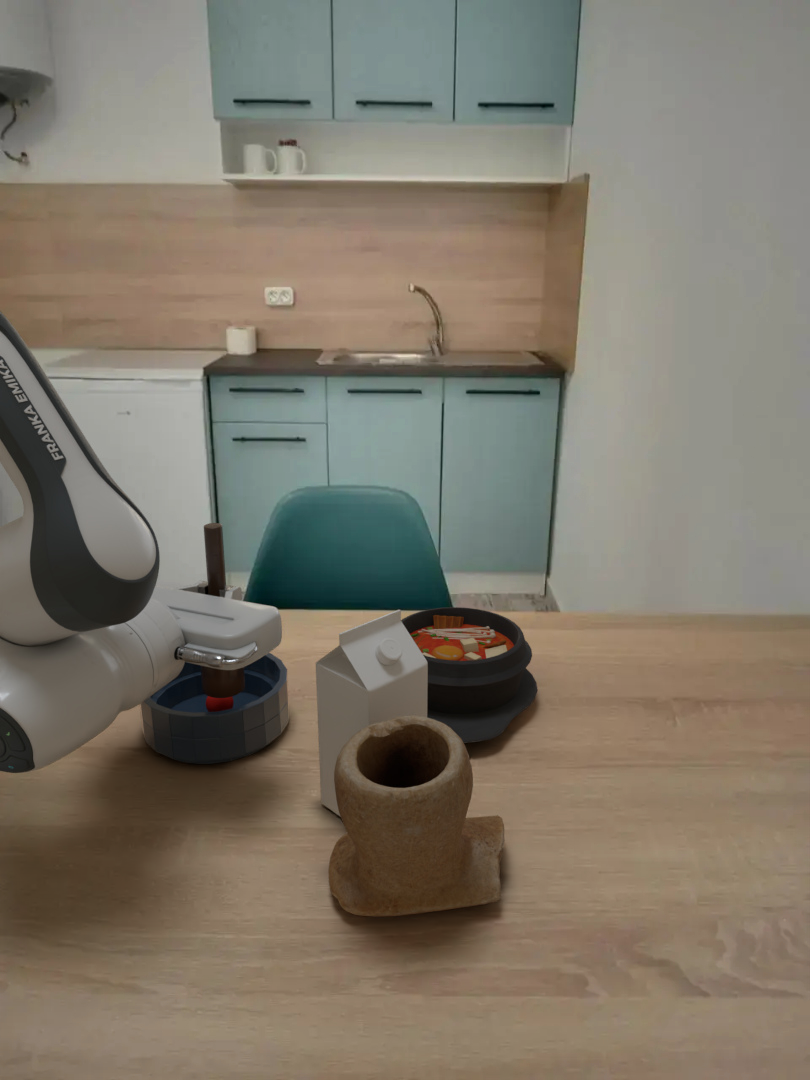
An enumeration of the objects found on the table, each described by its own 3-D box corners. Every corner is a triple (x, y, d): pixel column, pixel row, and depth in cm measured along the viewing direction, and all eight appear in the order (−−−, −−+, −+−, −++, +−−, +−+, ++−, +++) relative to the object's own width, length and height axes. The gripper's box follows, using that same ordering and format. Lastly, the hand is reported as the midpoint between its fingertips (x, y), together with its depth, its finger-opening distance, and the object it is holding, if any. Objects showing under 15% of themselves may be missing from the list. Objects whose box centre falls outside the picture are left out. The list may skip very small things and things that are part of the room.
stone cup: (329, 953, 62) (322, 782, 57) (328, 845, 73) (323, 694, 68) (529, 939, 63) (540, 770, 58) (499, 835, 74) (505, 686, 69)
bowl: (119, 723, 92) (113, 675, 90) (242, 677, 101) (239, 633, 100) (187, 787, 81) (181, 734, 79) (317, 729, 90) (315, 680, 88)
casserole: (397, 644, 110) (397, 585, 107) (539, 655, 107) (542, 595, 104) (353, 749, 87) (352, 678, 84) (533, 767, 84) (537, 694, 81)
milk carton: (320, 805, 78) (313, 621, 72) (375, 773, 83) (373, 598, 77) (371, 841, 73) (368, 647, 67) (427, 805, 78) (428, 621, 72)
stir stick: (195, 686, 88) (182, 524, 82) (232, 673, 90) (222, 516, 85) (215, 702, 84) (202, 535, 79) (252, 689, 87) (243, 526, 81)
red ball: (204, 685, 91) (204, 711, 89) (232, 683, 91) (233, 708, 90) (206, 697, 93) (206, 722, 91) (233, 695, 94) (234, 719, 92)
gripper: (232, 634, 68) (311, 576, 80) (39, 596, 75) (138, 548, 87) (237, 701, 70) (313, 635, 82) (48, 658, 77) (144, 603, 89)
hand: (222, 590), depth 85 cm, fingers closed on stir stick, 2 cm apart
